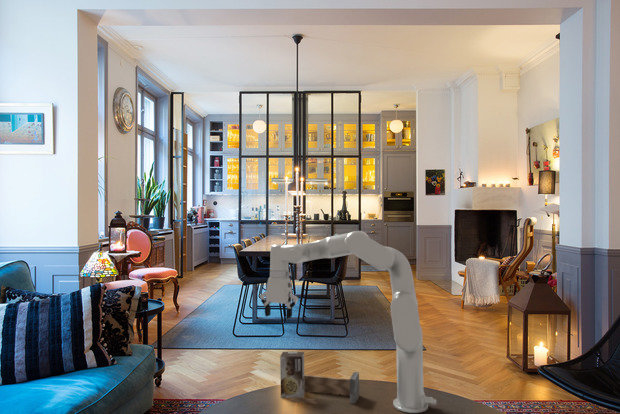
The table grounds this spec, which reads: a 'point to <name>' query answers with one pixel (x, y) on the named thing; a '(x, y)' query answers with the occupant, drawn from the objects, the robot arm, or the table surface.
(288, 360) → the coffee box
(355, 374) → the book slot
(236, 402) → the table surface
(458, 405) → the table surface
